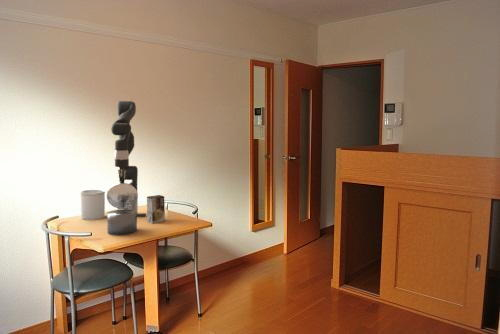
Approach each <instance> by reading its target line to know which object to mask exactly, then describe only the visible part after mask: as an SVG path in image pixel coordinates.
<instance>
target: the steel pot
mask: <svg viewBox="0 0 500 334" xmlns="http://www.w3.org/2000/svg"><path fill="white" fill-rule="evenodd" d="M106 215H107V216H106V218H107V219H106V221H107V225H106V226H107V234H108V235H110V236H129V235H132V234H136V233H137V232H138V218H147V213H145V212H143V213H142V212H140V213H139V212H138V214H137V211H135V210H128V209H115V210H110V211H107V213H106Z"/></svg>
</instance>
